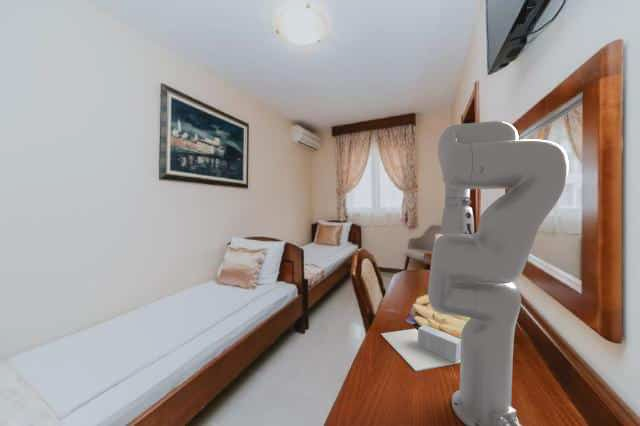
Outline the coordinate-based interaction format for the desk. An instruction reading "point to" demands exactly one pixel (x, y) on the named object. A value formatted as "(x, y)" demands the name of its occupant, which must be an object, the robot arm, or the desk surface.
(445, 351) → the skincare box
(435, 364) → the white mat
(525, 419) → the desk surface
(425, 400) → the desk surface
